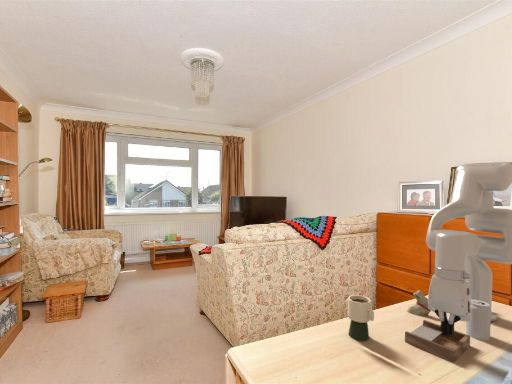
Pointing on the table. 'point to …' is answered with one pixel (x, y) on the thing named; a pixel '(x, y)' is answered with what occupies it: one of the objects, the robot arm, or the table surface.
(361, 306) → the character mug
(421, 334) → the concrete block
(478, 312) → the beverage can
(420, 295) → the grey figurine
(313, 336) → the table surface
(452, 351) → the walnut box
